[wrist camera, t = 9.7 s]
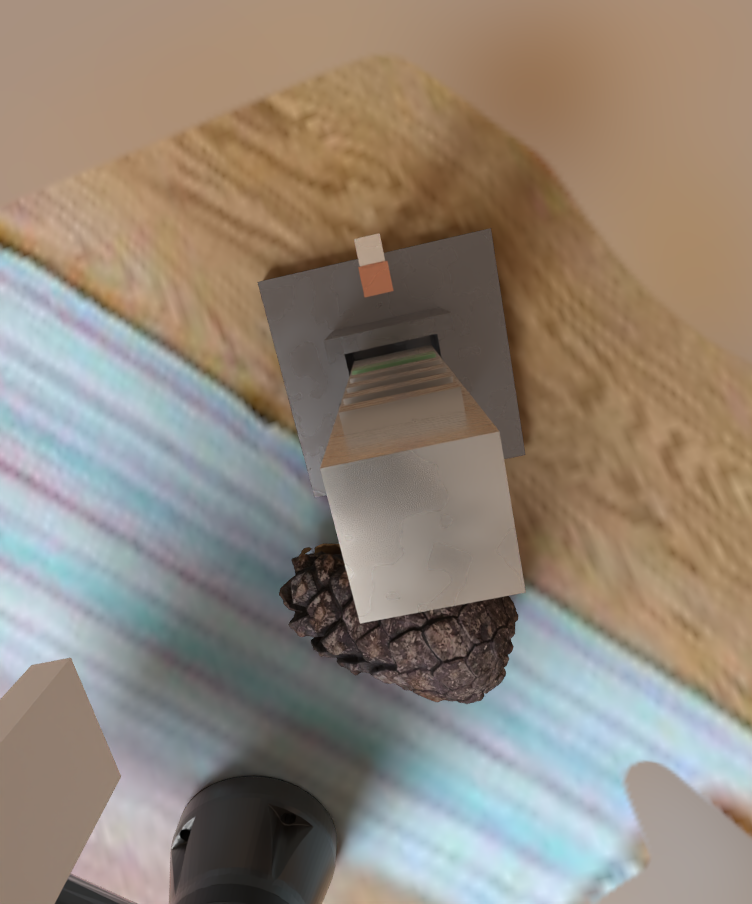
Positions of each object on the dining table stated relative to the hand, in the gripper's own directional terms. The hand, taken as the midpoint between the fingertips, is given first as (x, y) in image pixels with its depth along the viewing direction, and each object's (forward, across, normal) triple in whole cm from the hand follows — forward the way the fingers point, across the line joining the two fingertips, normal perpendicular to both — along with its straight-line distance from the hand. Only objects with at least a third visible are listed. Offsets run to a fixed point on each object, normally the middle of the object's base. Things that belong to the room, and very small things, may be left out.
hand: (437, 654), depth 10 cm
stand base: (+34, 0, 0) cm, 34 cm away
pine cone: (+34, -4, -18) cm, 38 cm away
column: (+25, 0, +1) cm, 25 cm away
